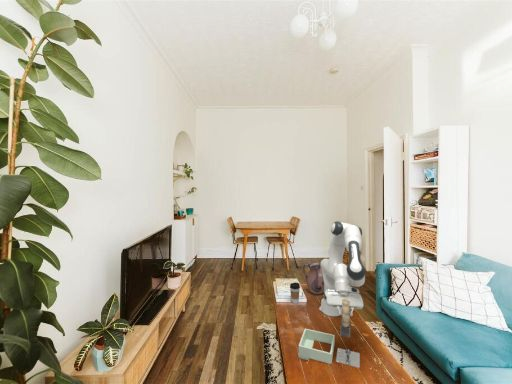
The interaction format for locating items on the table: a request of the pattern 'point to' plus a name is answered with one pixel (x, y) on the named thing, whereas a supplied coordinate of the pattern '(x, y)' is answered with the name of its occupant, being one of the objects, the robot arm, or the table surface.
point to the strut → (345, 319)
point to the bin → (309, 352)
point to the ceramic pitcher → (314, 278)
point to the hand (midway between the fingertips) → (345, 315)
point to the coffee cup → (294, 292)
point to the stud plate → (348, 357)
